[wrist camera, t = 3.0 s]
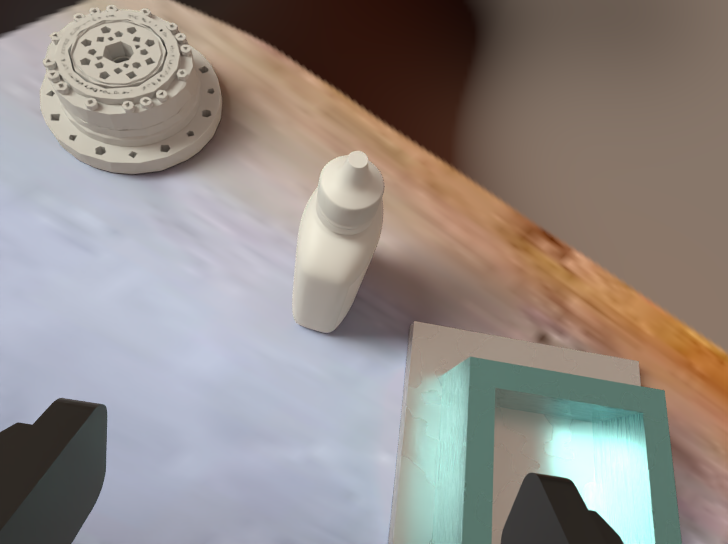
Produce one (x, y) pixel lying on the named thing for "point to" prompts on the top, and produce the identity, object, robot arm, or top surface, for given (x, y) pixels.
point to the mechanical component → (128, 92)
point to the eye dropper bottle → (336, 241)
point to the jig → (525, 438)
